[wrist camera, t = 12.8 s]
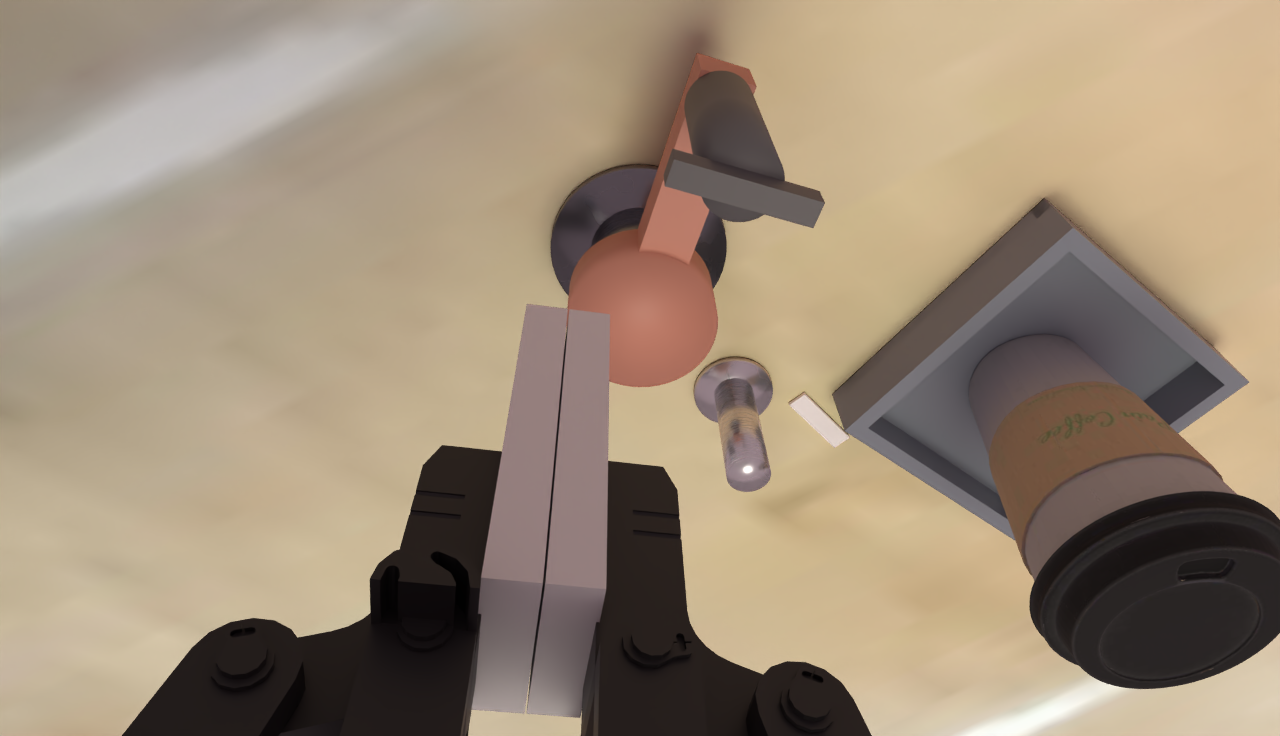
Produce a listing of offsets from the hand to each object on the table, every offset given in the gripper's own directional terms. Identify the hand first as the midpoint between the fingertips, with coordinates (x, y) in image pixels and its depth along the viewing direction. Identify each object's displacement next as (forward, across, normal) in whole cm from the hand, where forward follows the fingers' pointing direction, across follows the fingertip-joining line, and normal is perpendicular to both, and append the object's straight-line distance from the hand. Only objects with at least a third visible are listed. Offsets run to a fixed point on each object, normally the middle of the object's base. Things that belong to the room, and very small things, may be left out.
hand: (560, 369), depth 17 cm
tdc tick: (+22, +14, -17) cm, 31 cm away
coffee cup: (+22, +24, -13) cm, 35 cm away
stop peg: (+22, +9, -16) cm, 29 cm away
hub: (+22, +3, -8) cm, 24 cm away
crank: (+18, +4, -5) cm, 19 cm away
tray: (+22, +24, -12) cm, 35 cm away
